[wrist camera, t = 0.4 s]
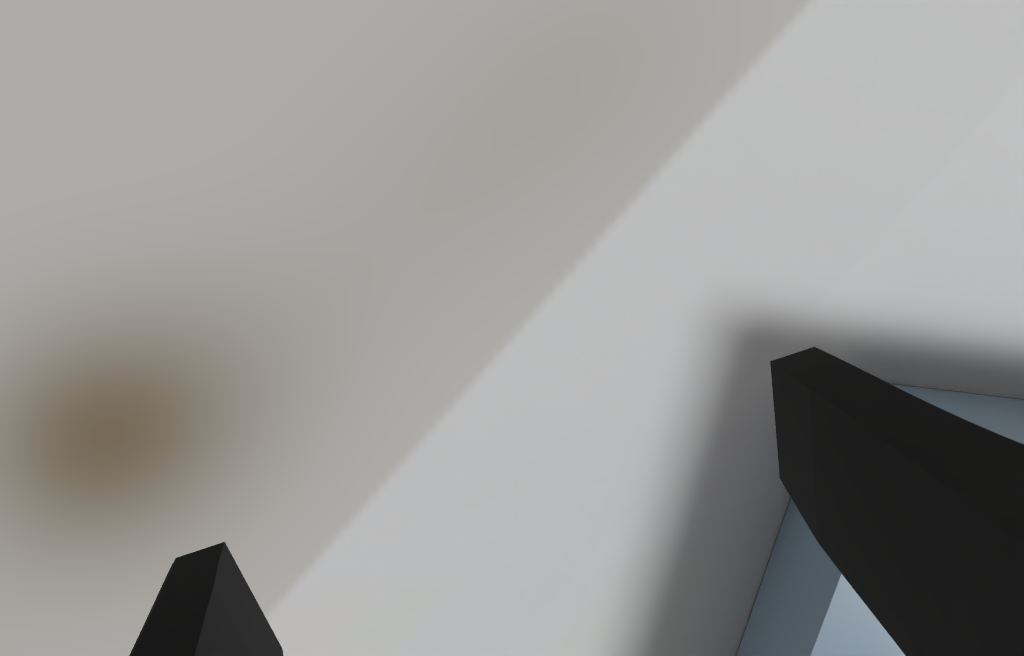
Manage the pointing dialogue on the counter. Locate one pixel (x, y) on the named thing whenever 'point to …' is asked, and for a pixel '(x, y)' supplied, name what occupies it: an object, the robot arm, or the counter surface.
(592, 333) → the counter surface
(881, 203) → the counter surface
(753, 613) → the slate-blue tray
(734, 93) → the counter surface
